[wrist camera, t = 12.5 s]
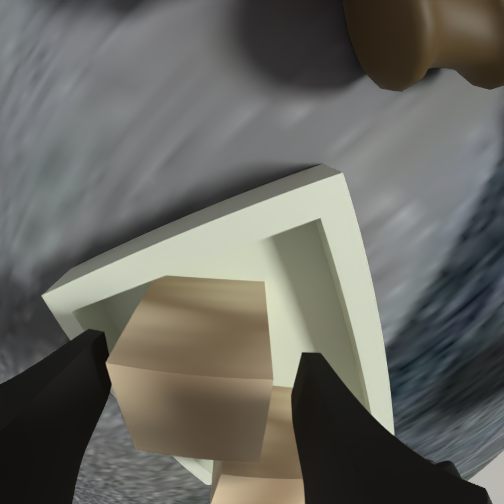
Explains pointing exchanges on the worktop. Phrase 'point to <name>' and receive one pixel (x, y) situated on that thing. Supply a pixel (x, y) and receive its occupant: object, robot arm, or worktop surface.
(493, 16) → the kendama
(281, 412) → the maple block
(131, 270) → the tray
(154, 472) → the worktop surface
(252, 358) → the maple block
